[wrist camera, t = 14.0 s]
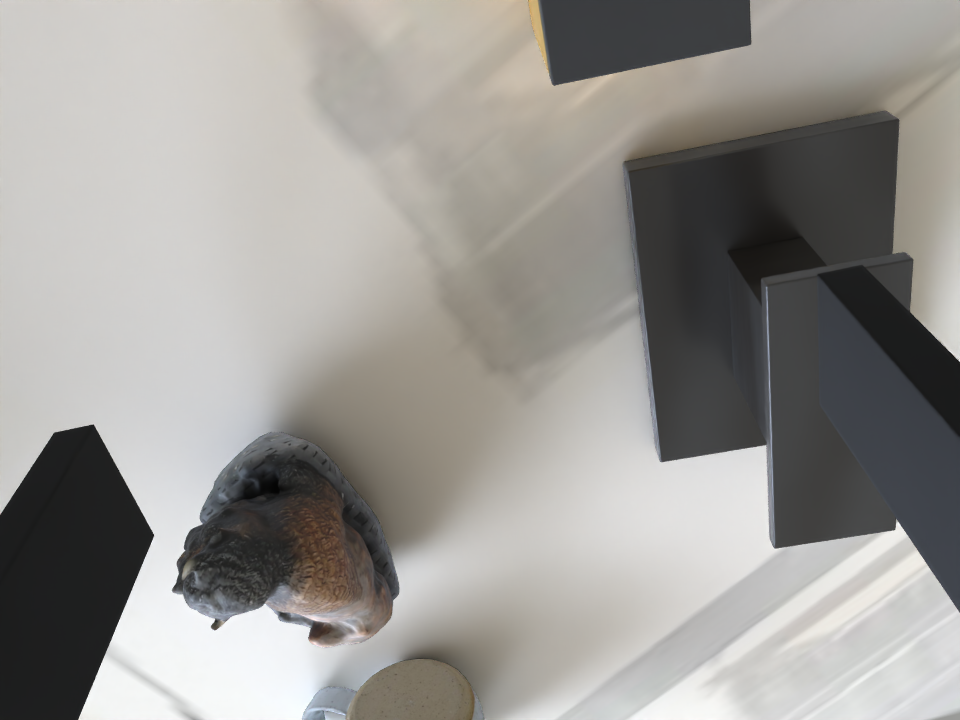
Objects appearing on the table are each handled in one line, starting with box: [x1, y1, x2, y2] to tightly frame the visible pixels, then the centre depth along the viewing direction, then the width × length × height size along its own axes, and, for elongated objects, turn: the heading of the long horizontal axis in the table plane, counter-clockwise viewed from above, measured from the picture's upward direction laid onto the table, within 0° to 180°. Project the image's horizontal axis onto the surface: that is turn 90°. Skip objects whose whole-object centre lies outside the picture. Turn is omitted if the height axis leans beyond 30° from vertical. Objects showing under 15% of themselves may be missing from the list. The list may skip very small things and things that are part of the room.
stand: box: [623, 111, 913, 548], centre depth 33 cm, size 10×14×9 cm
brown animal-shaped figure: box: [172, 432, 399, 648], centre depth 38 cm, size 12×7×10 cm, turn 24°
